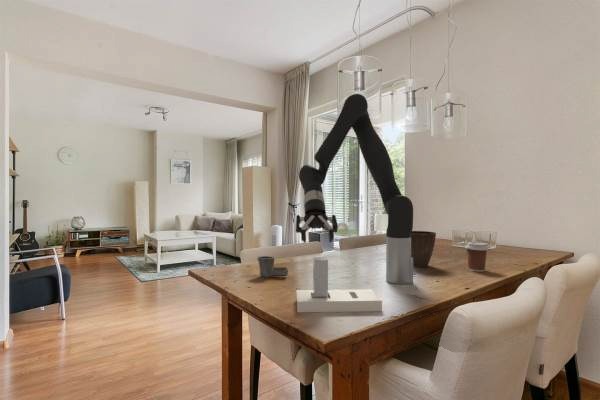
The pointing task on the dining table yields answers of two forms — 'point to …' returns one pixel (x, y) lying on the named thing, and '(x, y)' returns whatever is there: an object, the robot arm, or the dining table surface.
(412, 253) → the plant pot
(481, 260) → the coffee cup
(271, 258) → the pipe
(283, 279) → the dining table surface
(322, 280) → the gray square peg
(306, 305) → the socket plank
